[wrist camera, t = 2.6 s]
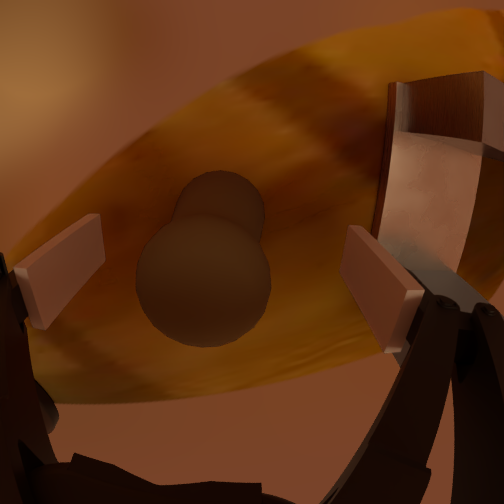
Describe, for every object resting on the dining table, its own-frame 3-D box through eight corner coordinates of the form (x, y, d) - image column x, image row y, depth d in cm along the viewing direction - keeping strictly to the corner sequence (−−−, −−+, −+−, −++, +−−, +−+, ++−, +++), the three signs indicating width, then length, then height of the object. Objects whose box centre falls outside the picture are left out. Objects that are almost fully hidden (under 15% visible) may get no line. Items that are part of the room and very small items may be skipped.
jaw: (365, 308, 22) (407, 380, 14) (376, 269, 20) (430, 335, 13) (440, 305, 22) (488, 361, 15) (452, 270, 21) (509, 322, 13)
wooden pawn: (231, 152, 18) (217, 179, 8) (281, 226, 20) (318, 325, 10) (158, 204, 19) (82, 283, 9) (210, 271, 21) (187, 388, 11)
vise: (355, 300, 23) (400, 382, 14) (388, 83, 16) (476, 66, 8) (437, 298, 23) (492, 360, 15) (476, 115, 17) (559, 126, 8)
